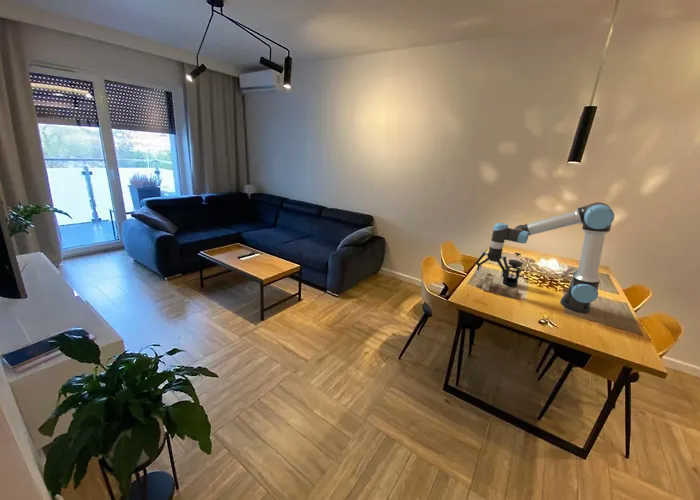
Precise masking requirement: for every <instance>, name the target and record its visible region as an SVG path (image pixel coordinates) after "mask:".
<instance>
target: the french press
mask: <svg viewBox="0 0 700 500" xmlns="http://www.w3.org/2000/svg"><path fill="white" fill-rule="evenodd" d="M514 255H515V256H516V258H515V259H508V262H507V264H508V268H509V272H505V276H504V277H502V281H501V282H502V283H501V284H502V285H504V286H507V287H511V288H517V287H518V283H519V278H520V276H519V275H520V273H521V272H522V269H521V268H522V266H523V265H524V262H522V261H520V260H518V257H519V256H521V255H522V253H519V252H514ZM511 268H512V269H513V270H512V269H511ZM515 269H516V270H515ZM505 270H506V268H505ZM514 273H515V274H514Z"/></svg>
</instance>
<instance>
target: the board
mask: <svg viewBox="0 0 700 500" xmlns="http://www.w3.org/2000/svg"><path fill="white" fill-rule="evenodd" d="M483 282H484V278H483V279H482V278H481V279H480V280H479V281H478V282H477V283H476V285H475V287H476V288H477V289H481V290H482V286H483ZM519 291H520V290H519V289H517V288H515V287H509V286H506V285H504V284H499V283H496V282H493V281H492V284H491V287H490V288H489V291H488V292H490V293H493V292H494V293H495V294H496V293H497V294H496V295H500V296H504V297H506V298H510V299H514V300H516V298H517V297H518V294H519Z"/></svg>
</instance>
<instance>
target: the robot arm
mask: <svg viewBox="0 0 700 500" xmlns="http://www.w3.org/2000/svg"><path fill="white" fill-rule="evenodd" d="M614 221H615V213H614V211H613V209H612V207H610V206H609V205H608V204H606V203H604V202H601V201H600V202H593V203H590V204H587V205H583V206H581V207H577V208H576V209H575V210H573V211H570V212H566V213H562V214H559V215H555V216H550V217H547V218H542V219H540V220H536V221H532V222H530V223H525V224H518V225H516V226H515V227H514V228H509V225H508V224H507V223H504V222H496V223H495V224H494V227H493V229H492V234H491V239H490V243H489V248H488V253H487V252H486V251H483V252H482V255H481V256H480V257H479V258H478V260H477V261H476V262H475V265H477V269H476V270H477V271H478V272H477V277H479V276H480V275H481V270H482V265H483V264H485V263H487V262H488V261H491V262H494V263H496V262H497V264H498V265H499V267H500V268H501V269H500V270H502V271H501V273H500V278H499V282H503V277H504V276H505V272H509V268H508V266H509V264H508V262H507V256H506V255H505V256H502V253H503V249H504V245H505V241H508V242H513V243H519V244H527V242H528V241H529V236H533V235H537V234H541V233H545V232H549V231H552V230H557V229H561V228H565V227H570V226H573V225H578V224H580V225H582V228H581V229H582V230H583V232H584V235H583V241H582V246H581V247H582V248H581V253H580V258H579V264H578V269H577V270H574V272H573V274H572V278H571V280H570V283H569V286H568V289H567V292H566V293H565V294H564V295H563V296H562V297H561V299H560V301H559V302H560V304H561V306H563V308H566V309H568V310H571V311H573V312H577V313H581V314H582V313H585V314H587V313H590V311H591V306H592V305H591V303H592V302H593V303H594V302H595V301H596V300H597V299H598V296H599V285H600V282H601V278H599V275H598V273H599V270H600V269H599V268H600V264H601V263H600V262H601V258H602V254H603V253H602V252H603V247H604V244H605V243H604V242H605V239H606V238H605V237H606V235H607V234H608V233H610V231H611V228H612V227H611V226H612V223H613V222H614ZM484 257H487V258H485V259H484ZM482 259H484V260H482ZM501 259H502V261H503V263H502V261H501ZM481 260H482V261H481ZM505 269H506V270H505ZM509 273H510V272H509Z"/></svg>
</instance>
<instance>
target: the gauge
mask: <svg viewBox="0 0 700 500" xmlns="http://www.w3.org/2000/svg"><path fill="white" fill-rule="evenodd" d="M494 276H495V274H494V273H491V272H487V273H486V275H485V276H484V278H483V280H484V282H483V286H482V289H481V290H483V291H486V292H490V291H489V288H490V287H491V284H492V282H493V280H494Z"/></svg>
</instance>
